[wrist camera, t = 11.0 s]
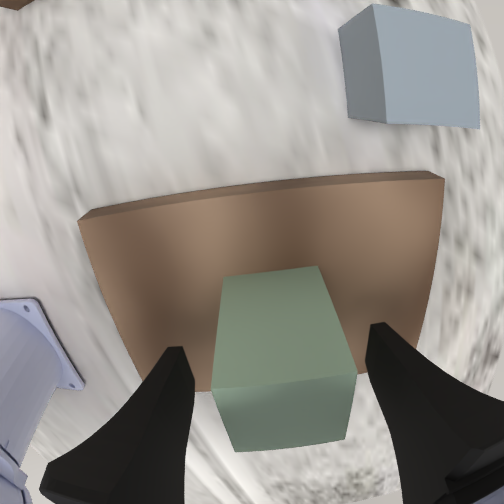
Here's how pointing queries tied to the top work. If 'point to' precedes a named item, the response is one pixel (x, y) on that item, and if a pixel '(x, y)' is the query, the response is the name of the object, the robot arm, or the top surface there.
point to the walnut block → (14, 4)
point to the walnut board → (266, 256)
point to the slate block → (409, 68)
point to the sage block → (281, 362)
